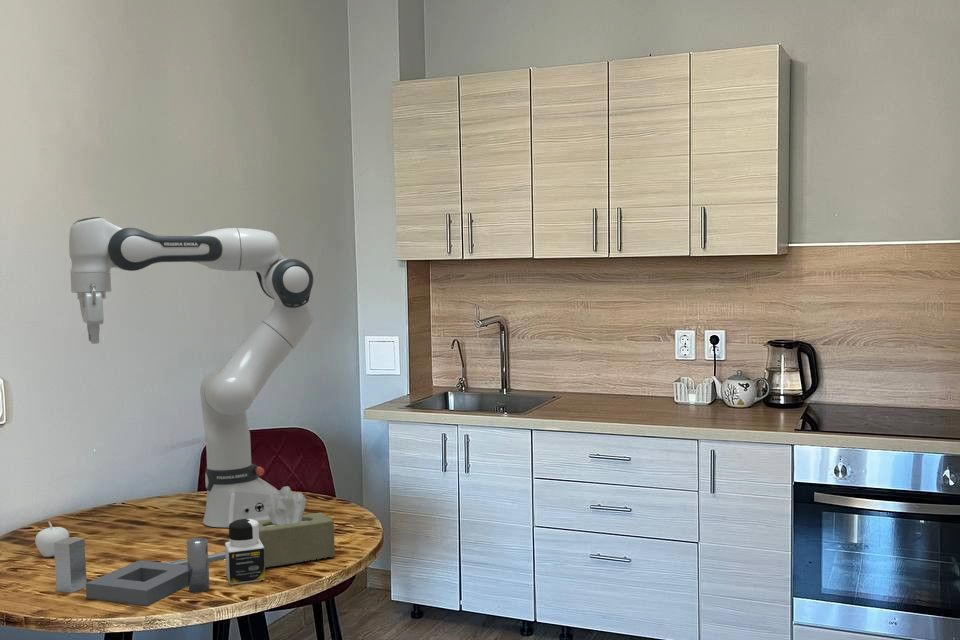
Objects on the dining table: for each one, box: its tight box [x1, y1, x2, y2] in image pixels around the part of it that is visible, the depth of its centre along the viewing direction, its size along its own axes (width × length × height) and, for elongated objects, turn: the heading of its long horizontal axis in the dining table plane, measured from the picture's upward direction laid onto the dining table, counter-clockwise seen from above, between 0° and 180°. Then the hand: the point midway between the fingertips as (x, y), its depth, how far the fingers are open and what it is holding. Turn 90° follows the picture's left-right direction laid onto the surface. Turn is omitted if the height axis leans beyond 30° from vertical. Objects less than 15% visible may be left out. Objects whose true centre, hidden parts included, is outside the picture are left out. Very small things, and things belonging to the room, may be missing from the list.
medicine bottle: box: [224, 519, 266, 586], centre depth 188 cm, size 7×7×12 cm
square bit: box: [54, 536, 87, 594], centre depth 185 cm, size 4×4×10 cm
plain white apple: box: [34, 520, 70, 558], centre depth 208 cm, size 7×7×8 cm
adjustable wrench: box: [164, 551, 226, 565], centre depth 202 cm, size 25×6×2 cm, turn 115°
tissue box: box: [257, 485, 336, 569], centre depth 200 cm, size 19×10×16 cm, turn 116°
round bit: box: [186, 537, 210, 594], centre depth 182 cm, size 4×4×10 cm
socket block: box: [85, 559, 189, 607], centre depth 183 cm, size 15×15×3 cm
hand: (93, 342), depth 218 cm, fingers open, 8 cm apart
